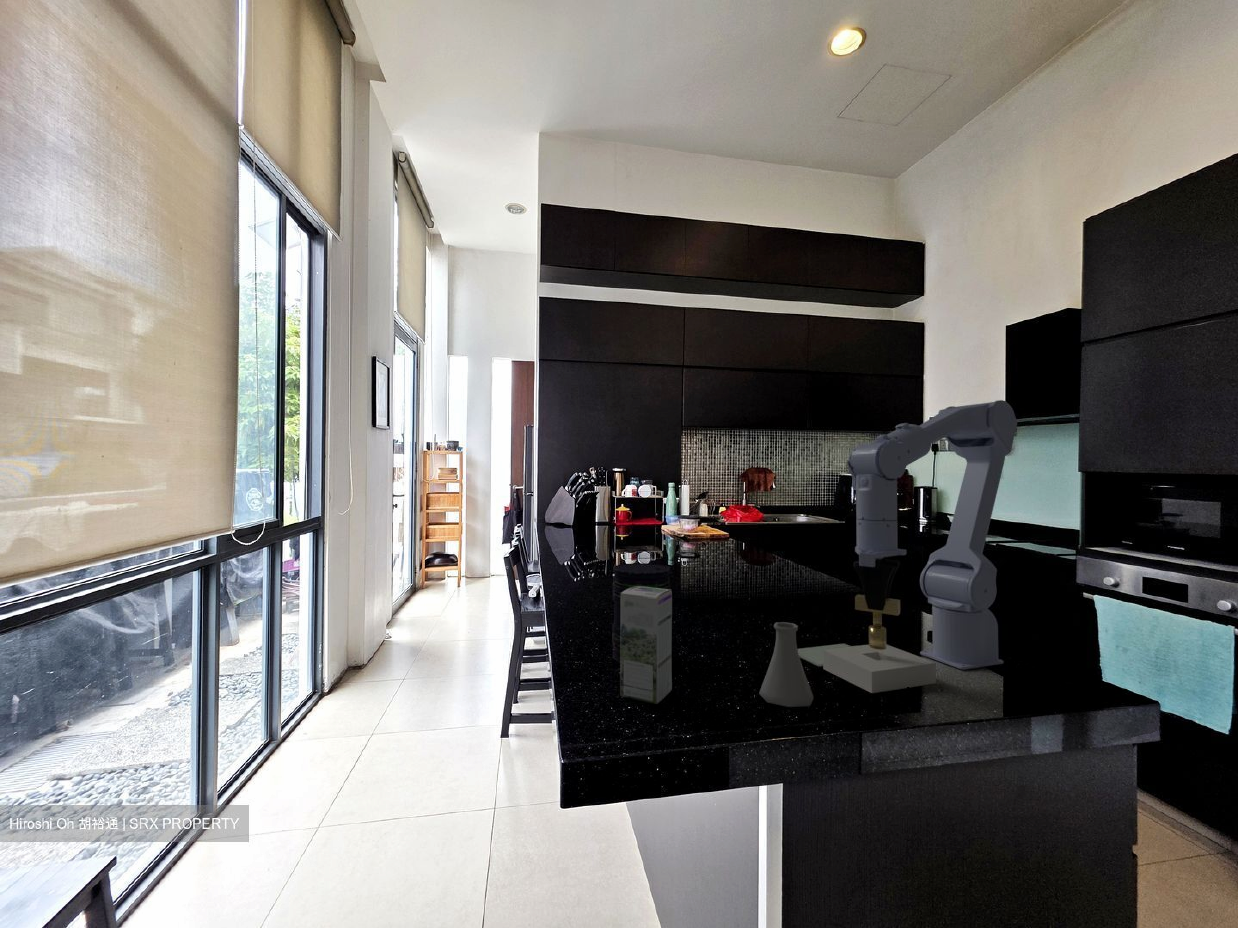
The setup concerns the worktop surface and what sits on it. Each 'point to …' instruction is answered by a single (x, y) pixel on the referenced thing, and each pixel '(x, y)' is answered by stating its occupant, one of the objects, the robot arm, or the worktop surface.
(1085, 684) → the worktop surface
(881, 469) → the robot arm
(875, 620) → the t key
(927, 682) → the block
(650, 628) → the syrup box
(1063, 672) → the worktop surface
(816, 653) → the mat
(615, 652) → the storage jar
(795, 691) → the flask
